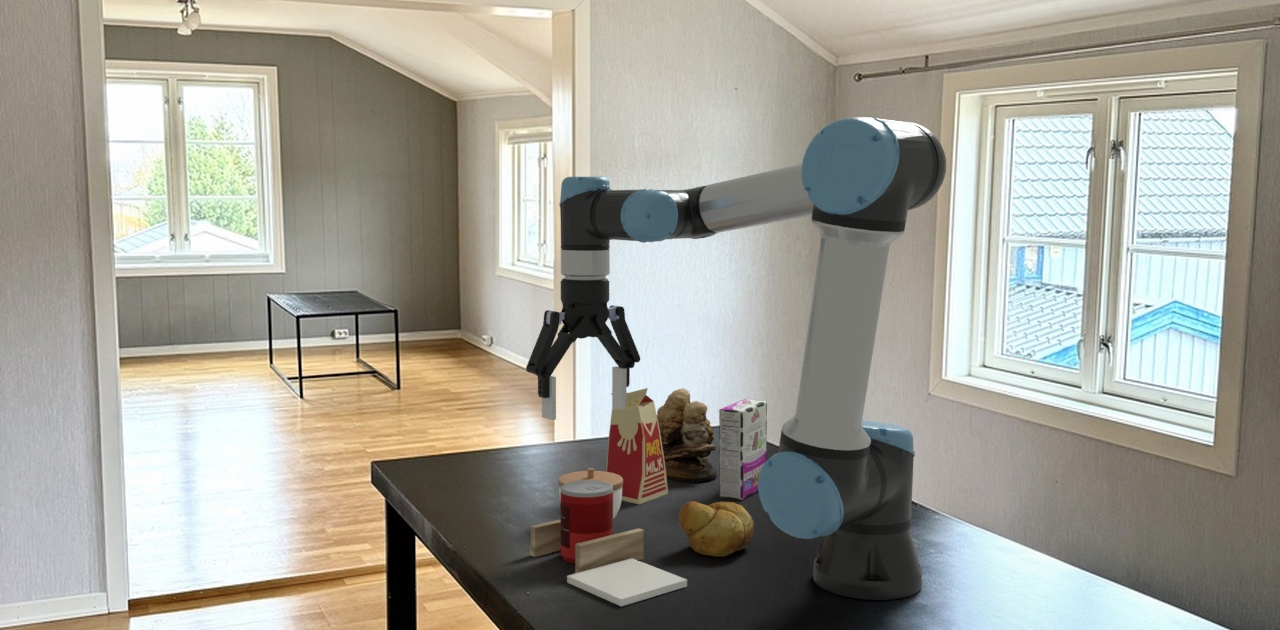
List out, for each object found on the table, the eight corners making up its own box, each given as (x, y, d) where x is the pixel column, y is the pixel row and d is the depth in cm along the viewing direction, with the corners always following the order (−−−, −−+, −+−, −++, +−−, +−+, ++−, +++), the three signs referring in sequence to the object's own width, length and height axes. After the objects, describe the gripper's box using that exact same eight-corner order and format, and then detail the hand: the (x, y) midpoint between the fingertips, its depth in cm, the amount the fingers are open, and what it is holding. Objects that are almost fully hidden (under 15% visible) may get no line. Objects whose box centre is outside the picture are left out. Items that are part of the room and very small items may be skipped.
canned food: (623, 556, 172) (623, 485, 171) (585, 569, 166) (585, 496, 165) (587, 545, 177) (588, 476, 176) (550, 557, 171) (549, 486, 170)
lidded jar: (615, 535, 182) (615, 478, 181) (550, 531, 184) (550, 474, 183) (629, 517, 193) (629, 463, 192) (567, 513, 195) (567, 459, 194)
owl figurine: (735, 479, 218) (737, 392, 216) (685, 488, 212) (686, 399, 210) (681, 460, 233) (682, 378, 231) (633, 468, 227) (633, 383, 225)
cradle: (643, 559, 171) (643, 530, 170) (580, 576, 163) (580, 546, 163) (592, 539, 180) (592, 511, 180) (530, 554, 172) (530, 526, 172)
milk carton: (668, 493, 208) (669, 385, 206) (641, 505, 200) (642, 393, 198) (626, 486, 213) (627, 380, 210) (598, 497, 205) (598, 387, 203)
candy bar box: (742, 483, 215) (744, 398, 213) (767, 487, 213) (768, 400, 211) (716, 497, 205) (718, 407, 204) (742, 501, 203) (743, 410, 201)
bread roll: (722, 532, 185) (723, 484, 184) (772, 545, 178) (773, 495, 177) (672, 551, 175) (673, 500, 174) (723, 565, 169) (724, 513, 168)
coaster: (687, 586, 159) (687, 579, 159) (621, 606, 151) (621, 599, 151) (631, 564, 168) (631, 558, 168) (567, 582, 160) (567, 575, 160)
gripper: (632, 272, 185) (632, 400, 188) (502, 279, 170) (503, 419, 172) (662, 275, 180) (661, 407, 182) (530, 282, 164) (531, 427, 166)
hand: (584, 413), depth 177 cm, fingers open, 13 cm apart
